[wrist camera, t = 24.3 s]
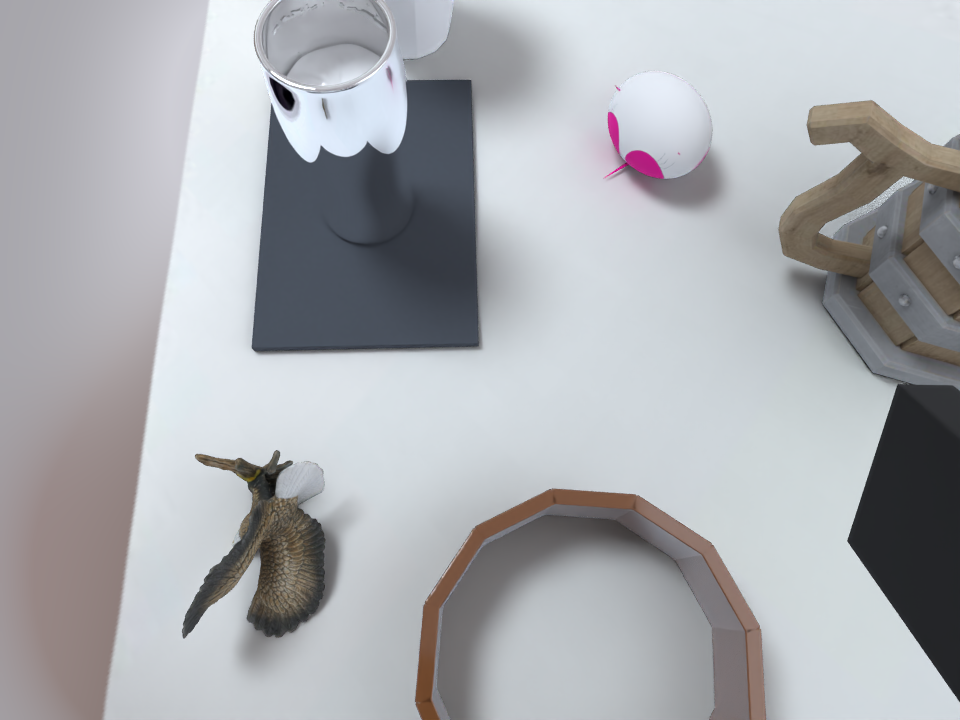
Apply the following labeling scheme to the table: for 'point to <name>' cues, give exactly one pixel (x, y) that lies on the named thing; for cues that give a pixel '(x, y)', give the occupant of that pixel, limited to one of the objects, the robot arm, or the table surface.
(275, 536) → the eagle figurine
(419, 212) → the mat
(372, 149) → the beer glass
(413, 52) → the foam cup
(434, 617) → the brown ring
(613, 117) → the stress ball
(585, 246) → the table surface
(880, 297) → the tankard
